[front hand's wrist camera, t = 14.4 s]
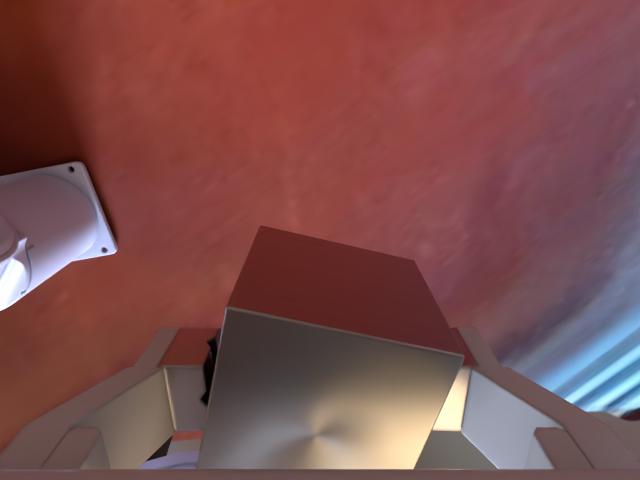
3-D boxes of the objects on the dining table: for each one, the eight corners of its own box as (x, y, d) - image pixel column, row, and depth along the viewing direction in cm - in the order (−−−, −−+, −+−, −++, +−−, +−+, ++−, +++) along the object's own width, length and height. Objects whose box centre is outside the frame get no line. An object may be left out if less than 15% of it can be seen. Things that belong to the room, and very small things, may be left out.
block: (230, 368, 13) (190, 501, 9) (260, 224, 11) (225, 306, 7) (365, 395, 13) (385, 533, 9) (414, 259, 11) (467, 357, 7)
